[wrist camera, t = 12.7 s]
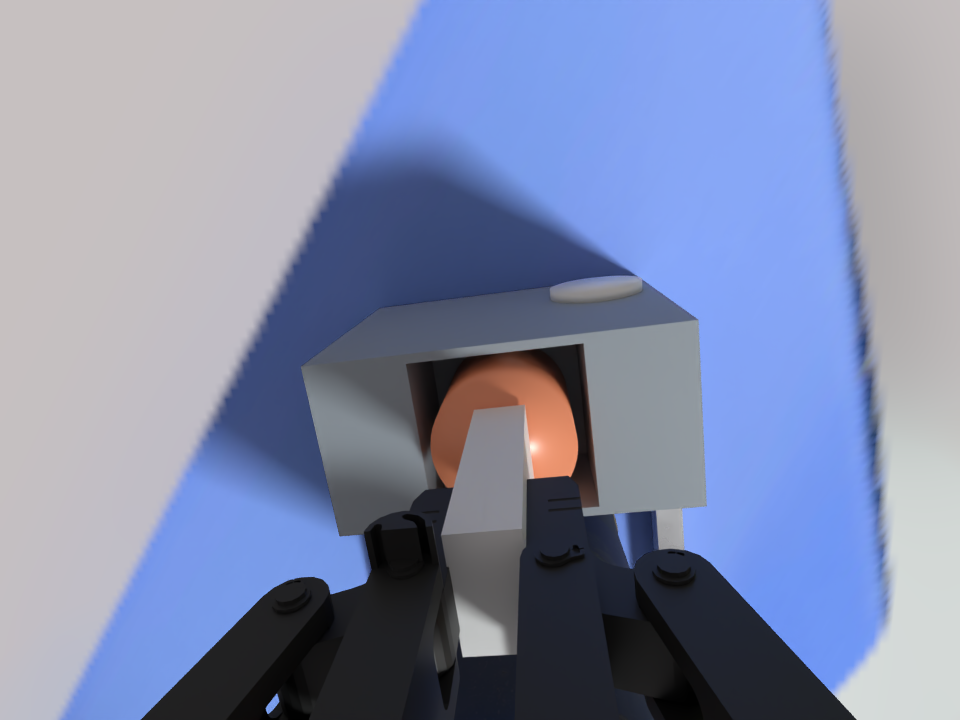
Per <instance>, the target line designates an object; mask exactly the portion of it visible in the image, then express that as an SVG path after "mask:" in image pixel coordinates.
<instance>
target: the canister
mask: <svg viewBox="0 0 960 720" xmlns="http://www.w3.org/2000/svg"><path fill="white" fill-rule="evenodd" d="M584 522H585V528H586V533H587V539H588V545H589V548H590V550H591V552H592V553H593V554H594V555H595V556H596V557H597V558H599V559H600V560H602V561H604V562H606V563H608V564H611V565H614V566H619V567H623V568H629V565H628V562H627V559H626V556H625V553H624V551H623V548H622V545H621V542H620V539H619V536H618V529H617V523H616V519H615V516H614V514H606V515H594V516H584ZM456 656H457V662H458V667H459V675H460V681H459V688H458V695H457V702H456V709H455V716H454V720H515V692H516V661H517V654H514V655H495V656H477V657H463V656H462V650H461V645H460V639H459V640H458V646H457V653H456ZM614 690H615V696H616V702H617V708H618V714H619V720H654V718H653V717H652V715H651V713H650V711H649V709H648V707H647V704H646V700H645V697H644V695H642V694H637V693H633V692H629V691H624V690H620V689H616V688H614Z"/></svg>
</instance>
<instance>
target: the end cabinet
mask: <svg viewBox="0 0 960 720" xmlns="http://www.w3.org/2000/svg"><path fill="white" fill-rule="evenodd" d="M530 349H540V350H541V351H543V352H544V353H546V354H547V355H548V356H549V357H550V358H552V360H553V361H554V362H555V363H556V364H557V366H558V367H559V369H560V370H561V372H562V374H563V376H564V378H565V381H566V385H567V389H568V394H569V399H570V404H571V409H572V414H573V419H574V424H575V429H576V434H577V440H578V455H577V461H576V465H575V468H574V471H573V473H572V475H571V477H570V478H571V479H572V480H573V481H574V482H576V483H577V484H578V486H579V492H580V498H581V504H582V510H583V516H594V515H606V514H618V513H631V512H643V511H655V510H667V509H679V508H692V507H704V506H707V504H706V481H705V458H704V436H703V413H702V391H701V368H700V345H699V323H698V319H696V318H695V317H694V316H692V315H691V314H689V313H688V312H687V311H685V310H684V309H682V308H681V307H680V306H678V305H677V304H676V303H674V302H673V301H671V300H670V299H669V298H667V297H666V296H664V295H663V294H662V293H660V292H659V291H657V290H656V289H655V288H653V287H652V286H650V285H649V284H648V283H646V282H645V281H643V280H642V278H640V277H638V276H636V275H635V276H603V277H593V278H585V279H579V280H574V281H569V282H564V283H561V284H557V285H555V286H549V287H541V288H533V289H525V290H518V291H510V292H502V293H494V294H486V295H478V296H471V297H463V298H455V299H447V300H439V301H431V302H423V303H416V304H408V305H400V306H392V307H384V308H379V309H378V310H377V311H375V312H374V313H372V314H371V315H370V316H368V317H367V318H366V319H364V320H363V321H362V322H360V323H359V324H358V325H356V326H355V327H354V328H352V329H351V330H350V331H348V332H347V333H345V334H344V335H343V336H341V337H340V338H339V339H337V340H336V341H335V342H333V343H332V344H331V345H329V346H328V347H327V348H325V349H324V350H323V351H321V352H320V353H318V354H317V355H316V356H314V357H313V358H312V359H310V360H309V361H308V362H306V363H305V364H304V365H302V366H301V370H302V374H303V379H304V383H305V387H306V392H307V396H308V400H309V405H310V409H311V414H312V418H313V422H314V427H315V431H316V435H317V440H318V444H319V449H320V453H321V457H322V462H323V466H324V470H325V475H326V479H327V484H328V488H329V492H330V497H331V501H332V505H333V510H334V514H335V519H336V523H337V527H338V532H339V536H350V535H362V534H364V531H365V529H366V528H367V527H368V526H369V524H371V523H372V522H374V521H375V520H377V519H379V518H380V517H383V516H386V515H388V514H391V513H395V512H400V511H410V508H411V505H412V503H413V501H414V500H415V499H416V498H417V497H418V496H419V495H420V494H421V493H422V492H424V491H425V490H429V489H440V488H447V487H446V486H445V484H444V483H443V482H442V480H441V479H440V477H439V475H438V473H437V471H436V469H435V466H434V464H433V460H432V456H431V447H430V445H431V433H432V428H433V425H434V422H435V419H436V417H437V415H438V412H439V410H440V407H441V405H442V403H443V400H444V398H445V395H446V393H447V391H448V388H449V386H450V384H451V381H452V379H453V376H454V374H455V372H456V370H457V368H458V367H459V366H460V364H461V363H462V362H463V360H464V359H465V358H466V357H470V356H478V355H487V354H496V353H504V352H513V351H522V350H530Z"/></svg>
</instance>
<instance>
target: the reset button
mask: <svg viewBox="0 0 960 720" xmlns="http://www.w3.org/2000/svg"><path fill="white" fill-rule="evenodd" d="M516 405H525V410H526V418H527V426H528V434H529V441H530V449H531V457H532V465H533V473H534V479H535V478H546V477H558V476H569V477H571V475H572V473H573V471H574V468H575V465H576V461H577V455H578V440H577V434H576V429H575V424H574V419H573V414H572V409H571V404H570V399H569V394H568V389H567V385H566V381H565V378H564V376H563V374H562V372H561V370H560V369H559V367H558V366H557V364H556V363H555V362H554V361H553V360H552V358H550V357H549V356H548V355H547V354H546V353H544V352H543V351H541V350H540V349H530V350H522V351H513V352H504V353H496V354H487V355H478V356H470V357H466V358H465V359H464V360H463V362H462V363H461V364H460V366H459V367H458V368H457V370H456V372H455V374H454V376H453V379H452V381H451V384H450V386H449V388H448V391H447V393H446V395H445V398H444V400H443V403H442V405H441V407H440V410H439V412H438V415H437V417H436V419H435V422H434V425H433V428H432V433H431V445H430V447H431V456H432V460H433V464H434V466H435V469H436V471H437V473H438V475H439V477H440V479H441V480H442V482H443V483H444V484H445V486H446V487H447V488H451V487H454V484H455V480H456V476H457V472H458V469H459V465H460V461H461V457H462V453H463V450H464V446H465V442H466V438H467V434H468V430H469V427H470V423H471V419H472V415H473V411H474V410H477V409H487V408H497V407H506V406H516Z"/></svg>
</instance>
